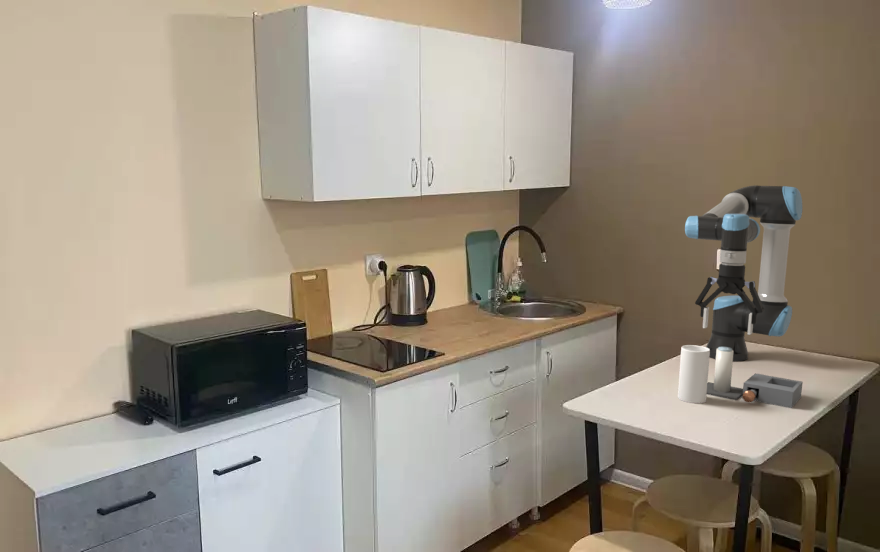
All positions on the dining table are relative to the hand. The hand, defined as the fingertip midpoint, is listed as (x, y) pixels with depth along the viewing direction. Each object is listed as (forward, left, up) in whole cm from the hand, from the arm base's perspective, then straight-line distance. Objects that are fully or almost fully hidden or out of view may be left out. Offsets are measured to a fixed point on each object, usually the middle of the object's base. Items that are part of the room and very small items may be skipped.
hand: (727, 330), depth 227 cm
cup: (+14, -5, -20) cm, 25 cm away
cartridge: (0, 0, -19) cm, 19 cm away
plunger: (+3, +10, -19) cm, 22 cm away
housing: (-4, +14, -20) cm, 25 cm away
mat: (0, 0, -20) cm, 20 cm away
